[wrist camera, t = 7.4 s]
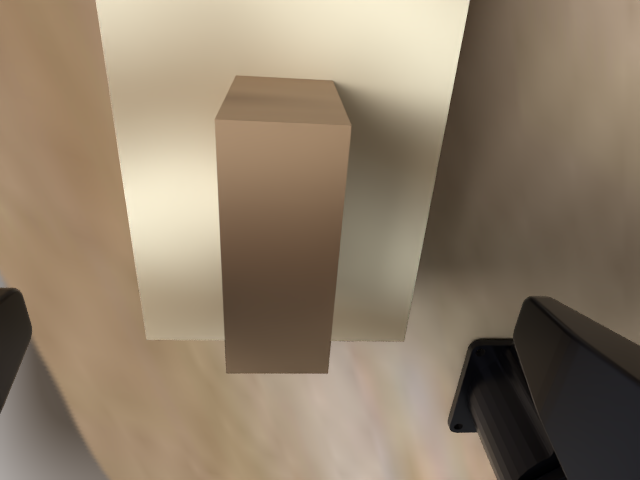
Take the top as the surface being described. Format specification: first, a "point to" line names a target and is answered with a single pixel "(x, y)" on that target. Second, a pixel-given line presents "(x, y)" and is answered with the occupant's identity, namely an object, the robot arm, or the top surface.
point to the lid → (279, 165)
